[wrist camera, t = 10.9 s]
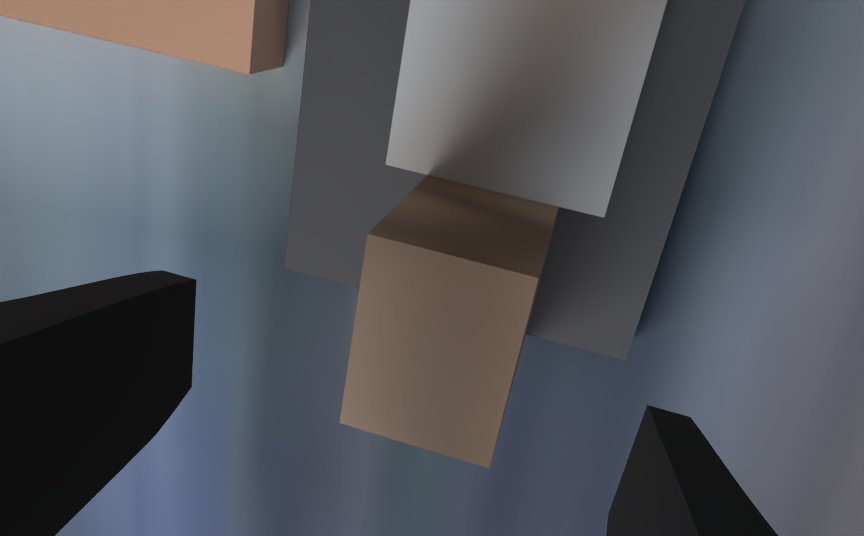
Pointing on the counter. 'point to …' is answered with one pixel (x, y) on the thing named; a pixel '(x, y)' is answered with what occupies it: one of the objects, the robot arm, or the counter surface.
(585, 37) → the two-tone stacked blocks
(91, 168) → the counter surface
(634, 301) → the pad
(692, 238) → the counter surface
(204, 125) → the counter surface
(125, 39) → the tile
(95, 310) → the robot arm
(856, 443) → the counter surface
